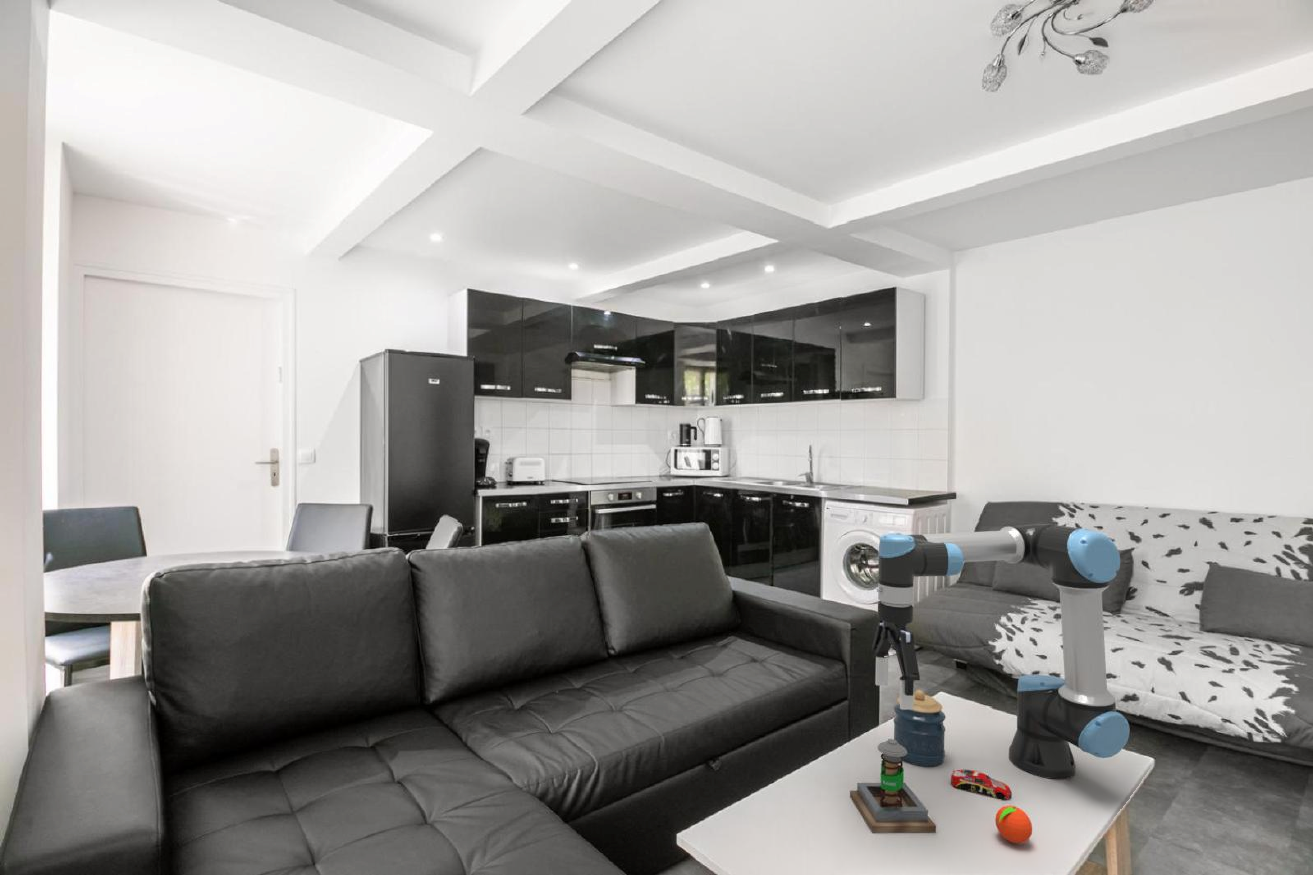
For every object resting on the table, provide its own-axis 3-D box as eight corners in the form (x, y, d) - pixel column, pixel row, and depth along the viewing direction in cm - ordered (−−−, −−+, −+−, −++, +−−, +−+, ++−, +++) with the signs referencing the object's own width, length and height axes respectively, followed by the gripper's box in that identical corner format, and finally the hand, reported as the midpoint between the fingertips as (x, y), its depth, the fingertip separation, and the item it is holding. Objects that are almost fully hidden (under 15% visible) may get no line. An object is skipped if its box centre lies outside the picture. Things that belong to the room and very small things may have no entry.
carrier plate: (907, 796, 152) (907, 790, 152) (936, 832, 138) (936, 825, 138) (849, 796, 152) (850, 790, 152) (872, 833, 138) (872, 826, 138)
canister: (948, 752, 175) (949, 688, 175) (940, 772, 164) (941, 704, 164) (898, 740, 182) (899, 678, 182) (888, 758, 171) (889, 692, 171)
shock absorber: (871, 807, 145) (873, 741, 145) (882, 796, 149) (883, 732, 150) (900, 818, 141) (901, 750, 141) (910, 806, 145) (911, 740, 145)
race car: (1011, 793, 155) (1012, 777, 155) (1011, 804, 151) (1012, 787, 151) (952, 778, 162) (952, 762, 162) (950, 788, 157) (950, 772, 157)
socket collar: (904, 793, 151) (905, 782, 151) (927, 822, 139) (928, 810, 139) (857, 793, 150) (857, 782, 150) (876, 822, 139) (876, 811, 139)
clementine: (1013, 855, 131) (1014, 820, 131) (984, 836, 137) (984, 803, 138) (1039, 846, 134) (1040, 812, 134) (1009, 827, 141) (1010, 795, 141)
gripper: (859, 590, 158) (857, 676, 157) (902, 618, 133) (900, 720, 132) (888, 590, 158) (887, 676, 158) (938, 618, 133) (936, 720, 133)
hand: (893, 696), depth 145 cm, fingers open, 13 cm apart
